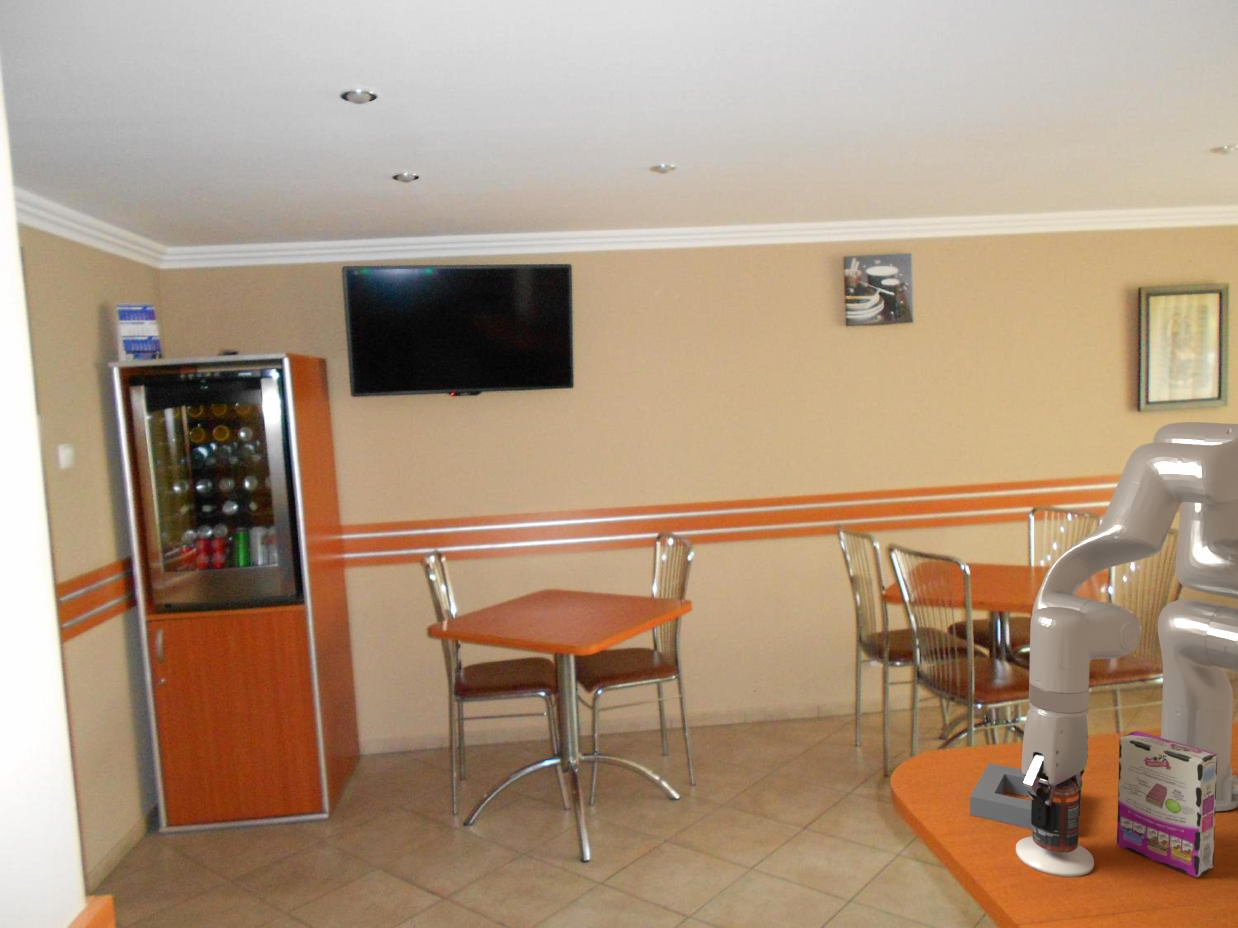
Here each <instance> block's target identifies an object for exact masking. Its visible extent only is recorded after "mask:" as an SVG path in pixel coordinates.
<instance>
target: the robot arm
mask: <svg viewBox="0 0 1238 928" xmlns="http://www.w3.org/2000/svg"><path fill="white" fill-rule="evenodd" d="M1178 510H1179V521H1178V523H1179V524H1178V533H1177V541H1176V553H1175V576H1176V579H1177V581H1178V582H1179V583H1180V585H1181V586H1183V587H1185V588H1187V589H1189V590H1192V591H1195V592H1200V593H1203V594H1209V595H1214V596H1219V597H1225V598H1230V599H1235V600H1238V423H1223V422H1222V423H1221V422H1220V423H1218V422H1205V421H1203V422H1201V421H1189V422H1187V421H1186V422H1185V421H1183V422H1174V423H1168V424H1165V425H1163V426H1162V427H1160V428H1159V429H1158V430H1157V431H1155V434H1154V436H1153V441H1152V442H1149V443H1146V444H1145V443H1144V444H1142V445H1140V446H1138V447H1137V448H1136V449H1134V450H1133V452H1131V453H1130V456H1129V458H1128V460H1127V462H1126V463H1125V466H1124V468H1123V471H1122V473H1121V476H1120V477H1119V480H1118V483H1117V485H1116V487H1115V489H1114V492H1113V494H1112V497H1111V499H1110V501H1109V504H1108V506H1107V509H1106V511H1105V513H1104V516H1103V518H1102V521H1101V523H1100V525H1099V526H1098V527H1097V529H1096V530H1094V531H1093V532H1092V533H1090V534H1088V535H1086V536H1085V537H1083V538H1081V539H1080V540H1078V541H1077V542H1075V544H1073V545H1071V547H1069V548H1068V549H1067V550H1066V551H1064V552H1063V553H1062V554H1060V556H1059V557H1057V558H1056V559H1055V560H1054V562H1053V563H1052V564H1051V565H1050V567H1049V568H1048V570H1047V572H1046V574H1045V576H1044V578H1043V580H1042V583H1041V586H1040V588H1039V590H1038V592H1037V594H1036V597H1035V600H1034V602H1033V606H1032V612H1031V618H1030V629H1029V630H1030V632H1029V673H1028V675H1029V676H1028V677H1029V681H1028V682H1029V683H1028V684H1029V686H1028V706H1029V708H1028V711H1027V714H1026V718H1025V724H1024V731H1023V740H1022V751H1021V770H1022V774H1023V775H1024V776H1026V778H1025V780H1024V783H1023V785H1024V787H1025V788H1026V789H1027V790H1028V793H1029V794H1030V797H1029V799H1030V800H1031V801H1032V805H1031V824H1032V825H1033V826H1035V827H1038V828H1040V829H1043V830H1045V831H1048V832H1051V833H1052V832H1054V831H1055V822H1056V805H1055V804H1053V799H1054V795H1055V790H1056V785H1057V784H1059V783H1061V782H1063V781H1065V780H1067V779H1069V778H1071V777H1072V778H1071V780H1072V781H1073V782H1074V783H1075V784H1076V785H1077V786H1078V789H1081V790H1079V817H1080V816H1081V802H1080V795H1081V796H1082V788H1083V779H1082V776H1083V775H1084V773H1085V768H1086V767H1087V764H1088V758H1089V727H1088V725H1089V724H1088V713H1089V707H1090V706H1089V705H1090V704H1089V702H1090V701H1089V700H1090V664H1091V661H1092V660H1114V659H1119V658H1122V657H1125V656H1127V655H1129V654H1131V653H1132V652H1133V651H1134V650H1135V649H1136V648H1137V647H1138V645H1139V643H1140V641H1141V639H1142V632H1143V630H1142V629H1143V628H1142V624H1141V622H1140V619H1139V617H1137V615H1136V614H1135V613H1134V612H1133V611H1131V610H1130V609H1128V608H1127V607H1124V606H1121V605H1118V604H1113V603H1109V602H1105V601H1100V600H1096V599H1093V598H1087V597H1083V596H1078V595H1077V594H1078V593H1077V592H1078V591H1079V590H1080V588H1081V587H1082V585H1083V584H1084V583H1086V581H1088V579H1090V578H1092V577H1093V576H1094V575H1096V574H1098V573H1100V572H1101V571H1104V570H1107V569H1109V568H1113V567H1116V566H1117V567H1118V566H1120V565H1124V564H1128V563H1129V564H1130V563H1133V562H1136V561H1141V560H1144V559H1148V558H1152V557H1154V556H1156V555H1158V554H1159V553H1160V552H1161V551H1162V549H1163V548H1164V545H1165V542H1166V540H1167V537H1168V535H1169V533H1170V530H1171V527H1172V524H1173V522H1174V520H1175V517H1176V516H1177V513H1178ZM1157 635H1158V640H1159V647H1160V652H1161V659H1162V660H1161V661H1162V696H1161V697H1162V698H1161V702H1162V703H1161V723H1160V724H1161V725H1160V726H1161V727H1160V738H1163V739H1167V740H1170V741H1174V742H1177V743H1181V744H1184V745H1188V746H1191V747H1194V748H1198V749H1201V750H1204V751H1208V752H1211V753H1215V754H1217V777H1216V805H1215V812H1226V811H1230V810H1233V809H1236V808H1238V776H1237V775H1235V774H1234V775H1233V767H1232V766H1231V756H1232V755H1231V754H1232V753H1231V752H1232V735H1233V734H1232V733H1233V732H1232V731H1233V730H1232V729H1233V712H1234V711H1233V707H1234V692H1233V687H1232V684H1231V681H1230V679H1229V677H1228V675H1227V674H1226V671H1225V670H1230V671H1235V672H1238V607H1234V606H1230V605H1226V604H1222V603H1216V602H1211V601H1205V600H1200V599H1191V598H1190V599H1187V598H1184V599H1182V598H1181V599H1178V600H1174V601H1172V602H1169V603H1168V604H1166V605H1165V606H1164V607H1163V608H1162V609H1161V611H1160V613H1159V615H1158V620H1157ZM1224 669H1225V670H1224ZM1041 774H1044V775H1046V776H1048V780H1046V779H1043V778H1040V777H1041ZM1040 783H1043V784H1045V785H1048V789H1047V794H1046V792H1045V791H1044V790H1043V789H1042V788H1040Z"/></svg>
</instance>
